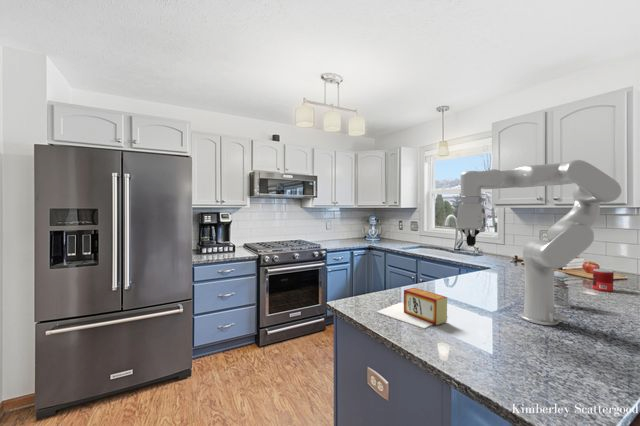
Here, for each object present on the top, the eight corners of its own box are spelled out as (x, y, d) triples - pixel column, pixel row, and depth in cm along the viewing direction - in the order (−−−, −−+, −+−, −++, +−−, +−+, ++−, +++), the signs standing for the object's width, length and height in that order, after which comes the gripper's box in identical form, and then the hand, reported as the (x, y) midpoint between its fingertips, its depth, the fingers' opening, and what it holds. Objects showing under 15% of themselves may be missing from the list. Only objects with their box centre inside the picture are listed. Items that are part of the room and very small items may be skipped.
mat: (447, 316, 119) (447, 315, 119) (424, 329, 107) (424, 327, 107) (400, 303, 135) (400, 302, 135) (376, 312, 123) (376, 311, 123)
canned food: (617, 292, 154) (617, 271, 154) (602, 292, 154) (602, 271, 154) (603, 288, 162) (603, 268, 161) (588, 288, 162) (589, 268, 162)
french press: (569, 309, 128) (570, 252, 127) (536, 302, 137) (537, 249, 136) (573, 304, 134) (574, 250, 134) (542, 298, 143) (543, 247, 142)
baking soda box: (436, 325, 109) (403, 312, 123) (446, 321, 113) (413, 309, 126) (436, 300, 109) (403, 289, 123) (447, 297, 113) (413, 287, 126)
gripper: (494, 200, 117) (494, 246, 118) (456, 201, 128) (456, 243, 129) (487, 200, 112) (487, 248, 113) (448, 201, 123) (448, 245, 124)
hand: (471, 245), depth 121 cm, fingers closed
